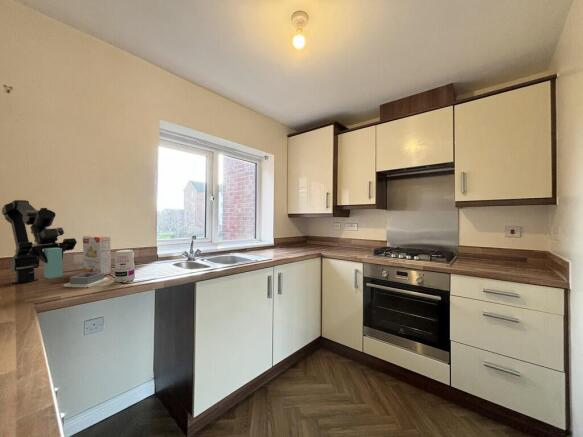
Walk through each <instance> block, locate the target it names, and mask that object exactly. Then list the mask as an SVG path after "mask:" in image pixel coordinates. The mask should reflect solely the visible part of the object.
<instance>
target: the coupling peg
mask: <svg viewBox="0 0 583 437" xmlns="http://www.w3.org/2000/svg"><path fill="white" fill-rule="evenodd" d="M43 252H44V254H45V256H46V258H47V260H48V263H45V262H43V272H44V274H43V275H44V278H47V279H53V278H58V277H63V276H64V274H63V273H64V272H63V270H64V269H63V260H62V248H48V249H43Z"/></svg>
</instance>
